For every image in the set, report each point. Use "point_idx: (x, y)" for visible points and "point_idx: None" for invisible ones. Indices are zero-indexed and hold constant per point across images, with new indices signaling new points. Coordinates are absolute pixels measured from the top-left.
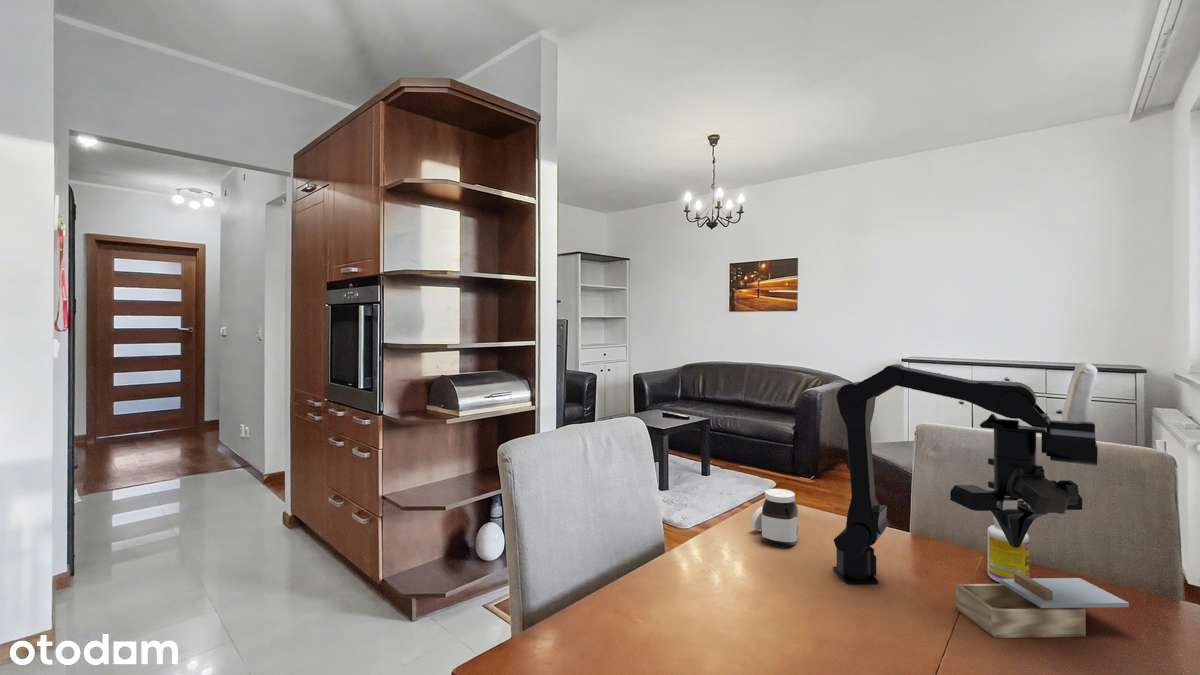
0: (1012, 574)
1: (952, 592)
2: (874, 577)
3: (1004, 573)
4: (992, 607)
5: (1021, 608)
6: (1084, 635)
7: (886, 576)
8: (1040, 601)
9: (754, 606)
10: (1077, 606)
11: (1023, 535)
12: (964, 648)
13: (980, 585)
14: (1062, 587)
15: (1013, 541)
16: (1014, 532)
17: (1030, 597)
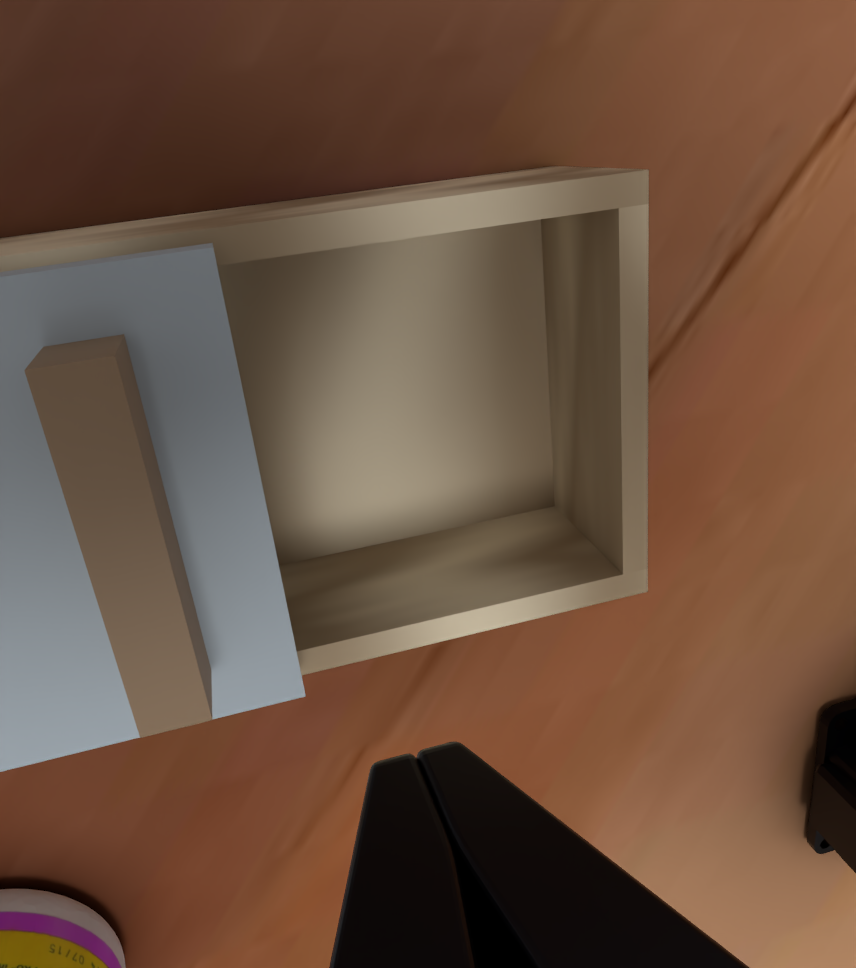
0: (8, 957)
1: (469, 712)
2: (829, 751)
3: (58, 962)
4: (620, 236)
5: None
6: None
7: (728, 802)
8: (190, 301)
9: None
10: None
11: (375, 965)
12: (817, 11)
13: (475, 612)
14: None
15: (533, 806)
16: (656, 957)
17: (238, 381)
